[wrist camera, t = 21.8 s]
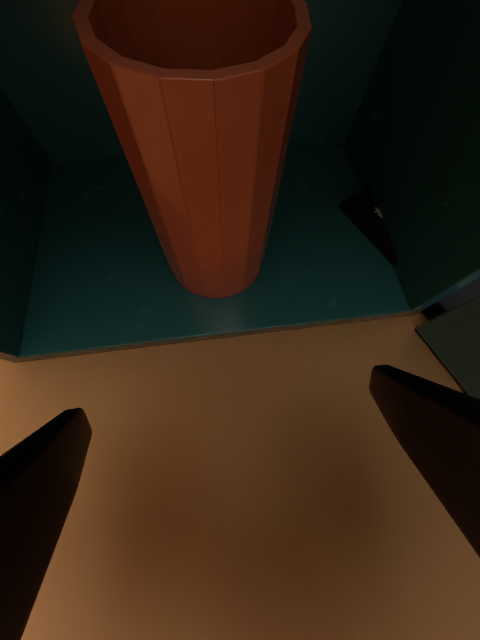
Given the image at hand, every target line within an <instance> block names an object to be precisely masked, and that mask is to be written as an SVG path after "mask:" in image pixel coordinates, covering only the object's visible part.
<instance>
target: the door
mask: <svg viewBox="0 0 480 640" xmlns="http://www.w3.org/2000/svg"><path fill="white" fill-rule="evenodd" d="M416 330H417V331H418V333H419V334H420V335H421V336H422V338H423V339H424V340H425V341H426V343H427V344H428V345H429V346H430V348H431V349H432V350H433V351H434V353H435V354H436V355H437V356H438V358H439V359H440V360H441V361H442V363H443V364H444V365H445V366H446V368H447V369H448V370H449V371H450V373H451V374H452V375H453V376H454V378H455V379H456V380H457V381H458V383H459V384H460V385H461V386H462V388H463V389H464V390H465V391H466V393H467V394H468V395H469V396H472V397H475V398H477V399H480V295H478V296H476V297H474V298H472V299H470V300H468V301H466V302H464V303H462V304H460V305H458V306H456V307H454V308H453V309H451V310H449V311H447V312H445V313H443V314H441V315H439V316H437V317H435V318H433V319H431V320H429V321H427V322H425V323H424V324H422V325H420V326H418V327H416Z"/></svg>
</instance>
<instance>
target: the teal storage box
mask: <svg viewBox="0 0 480 640" xmlns="http://www.w3.org/2000/svg"><path fill="white" fill-rule="evenodd" d="M304 1H305V2H306V3H307V5H308V10H309V15H310V20H311V25H312V30H311V35H310V40H309V45H308V50H307V54H306V59H305V64H304V69H303V74H302V79H301V84H300V89H299V93H298V98H297V103H296V108H295V113H294V118H293V123H292V128H291V133H290V137H289V142H288V147H287V152H286V157H285V162H284V167H283V172H282V176H281V181H280V186H279V191H278V196H277V201H276V206H275V211H274V215H273V220H272V225H271V230H270V235H269V240H268V245H267V250H266V255H265V259H264V262H263V265H262V269H261V271H260V274H259V275H258V277H257V279H256V280H255V281H254V282H253V283H252V284H251V285H250V286H249V287H248V288H247V289H245V290H244V291H242V292H240V293H238V294H236V295H233V296H230V297H225V298H207V297H202V296H199V295H196V294H194V293H192V292H190V291H188V290H187V289H185V288H184V287H183V286H182V285H181V284H180V283H179V282H178V281H177V280H176V278H175V277H174V275H173V273H172V271H171V269H170V266H169V264H168V261H167V258H166V256H165V253H164V251H163V248H162V246H161V243H160V241H159V238H158V236H157V233H156V231H155V228H154V226H153V223H152V221H151V218H150V216H149V213H148V211H147V208H146V206H145V203H144V201H143V198H142V196H141V193H140V191H139V188H138V186H137V183H136V181H135V178H134V176H133V173H132V171H131V168H130V166H129V163H128V161H127V158H126V156H125V153H124V151H123V148H122V146H121V143H120V140H119V138H118V135H117V133H116V130H115V128H114V125H113V123H112V120H111V118H110V115H109V113H108V110H107V108H106V105H105V103H104V100H103V98H102V95H101V93H100V90H99V88H98V85H97V83H96V80H95V78H94V75H93V73H92V70H91V68H90V65H89V63H88V60H87V58H86V55H85V53H84V50H83V48H82V45H81V43H80V40H79V37H78V34H77V31H76V29H75V26H74V23H73V20H72V15H73V13H74V11H75V8H76V6H77V4H78V2H79V0H0V359H4V360H8V361H11V362H23V361H31V360H39V359H48V358H56V357H64V356H73V355H81V354H89V353H98V352H106V351H115V350H123V349H131V348H140V347H148V346H156V345H165V344H173V343H181V342H190V341H198V340H207V339H215V338H223V337H232V336H240V335H248V334H257V333H265V332H273V331H282V330H290V329H299V328H307V327H315V326H324V325H332V324H340V323H349V322H357V321H365V320H374V319H382V318H391V317H399V316H407V315H415V314H417V313H418V312H420V311H422V310H423V309H426V308H427V307H429V306H431V305H432V304H434V303H436V302H438V301H439V300H441V299H443V298H445V297H446V296H448V295H450V294H451V293H453V292H455V291H457V290H458V289H460V288H462V287H463V286H465V285H467V284H469V283H470V282H472V281H474V280H476V279H477V278H479V277H480V0H304ZM368 187H369V188H370V190H371V193H372V195H373V198H374V200H375V202H376V205H377V204H378V206H379V208H380V210H381V213H382V215H383V222H384V224H385V226H386V229H387V231H388V234H389V236H390V238H391V241H392V243H393V246H394V248H395V251H396V254H397V256H398V260H399V261H398V262H397V263H396V264H395V265H394V267H393V266H392V264H391V263H390V262H389V261H388V260H387V259H386V258H385V257H384V256H383V255H382V254H381V253H380V252H379V250H378V249H377V248H376V247H375V246H374V245H373V244H372V243H371V242H370V241H369V240H368V239H367V238H366V236H365V235H364V234H363V233H362V232H361V231H360V230H359V229H358V228H357V227H356V226H355V225H354V224H353V222H352V221H351V220H350V219H349V218H348V217H347V216H346V215H345V214H344V213H343V212H342V211H341V210H340V208H339V206H340V204H341V202H342V200H344V199H345V198H347V197H349V196H351V195H353V194H355V193H358V192H360V191H362V190H364V189H366V188H368Z"/></svg>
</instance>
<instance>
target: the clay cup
mask: <svg viewBox="0 0 480 640" xmlns="http://www.w3.org/2000/svg"><path fill="white" fill-rule="evenodd" d="M72 20H73V23H74V26H75V29H76V31H77V34H78V37H79V40H80V43H81V45H82V48H83V50H84V53H85V55H86V58H87V60H88V63H89V65H90V68H91V70H92V73H93V75H94V78H95V80H96V83H97V85H98V88H99V90H100V93H101V95H102V98H103V100H104V103H105V105H106V108H107V110H108V113H109V115H110V118H111V120H112V123H113V125H114V128H115V130H116V133H117V135H118V138H119V140H120V143H121V146H122V148H123V151H124V153H125V156H126V158H127V161H128V163H129V166H130V168H131V171H132V173H133V176H134V178H135V181H136V183H137V186H138V188H139V191H140V193H141V196H142V198H143V201H144V203H145V206H146V208H147V211H148V213H149V216H150V218H151V221H152V223H153V226H154V228H155V231H156V233H157V236H158V238H159V241H160V243H161V246H162V248H163V251H164V253H165V256H166V258H167V261H168V264H169V266H170V269H171V271H172V273H173V275H174V277H175V278H176V280H177V281H178V282H179V283H180V284H181V285H182V286H183V287H184V288H185V289H187V290H188V291H190V292H192V293H194V294H196V295H199V296H202V297H207V298H225V297H230V296H233V295H236V294H238V293H240V292H242V291H244V290H245V289H247V288H248V287H249V286H250V285H251V284H252V283H253V282H254V281H255V280H256V279H257V277H258V275H259V274H260V271H261V269H262V265H263V262H264V259H265V255H266V250H267V245H268V240H269V235H270V230H271V225H272V220H273V215H274V211H275V206H276V201H277V196H278V191H279V186H280V181H281V176H282V172H283V167H284V162H285V157H286V152H287V147H288V142H289V137H290V133H291V128H292V123H293V118H294V113H295V108H296V103H297V98H298V93H299V89H300V84H301V79H302V74H303V69H304V64H305V59H306V54H307V50H308V45H309V40H310V35H311V30H312V25H311V20H310V15H309V10H308V5H307V3H306V2H305V1H304V0H79V2H78V4H77V6H76V8H75V11H74V13H73V15H72Z"/></svg>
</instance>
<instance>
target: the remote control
mask: <svg viewBox="0 0 480 640" xmlns="http://www.w3.org/2000/svg"><path fill="white" fill-rule="evenodd" d="M339 208H340V210H341V211H342V212H343V213H344V214H345V215H346V216H347V217H348V218H349V219H350V220H351V221H352V222H353V224H354V225H355V226H356V227H357V228H358V229H359V230H360V231H361V232H362V233H363V234H364V235H365V236H366V238H367V239H368V240H369V241H370V242H371V243H372V244H373V245H374V246H375V247H376V248H377V249H378V250H379V252H380V253H381V254H382V255H383V256H384V257H385V258H386V259H387V260H388V261H389V262H390V263H391V264H392V266H393V267H394V265H395V264H396V263H397V262H398V261H399V260H398V256H397V254H396V251H395V248H394V246H393V243H392V241H391V238H390V236H389V234H388V231H387V229H386V226H385V224H384V222H383V215H382V213H381V210H380V208H379V206H378V204H377V205H376V202H375V200H374V198H373V195H372V193H371V190H370V188H369V187H368V188H366V189H364V190H362V191H360V192H358V193H355V194H353V195H351V196H349V197H347V198H345V199H344V200H342V202H341V204H340V206H339ZM478 295H480V277H479V278H477V279H476V280H474V281H472V282H470V283H469V284H467V285H465V286H463V287H462V288H460V289H458V290H457V291H455V292H453V293H451V294H450V295H448V296H446V297H445V298H443V299H441V300H439V301H438V302H436V303H434V304H432V305H431V306H429V307H427V308H426V309H423V310H422V311H423V312H424V313H425V314H426V315H427V316H428V317H429V318H430V319H433V318H435V317H437V316H439V315H441V314H443V313H445V312H447V311H449V310H451V309H453V308H454V307H456V306H458V305H460V304H462V303H464V302H466V301H468V300H470V299H472V298H474V297H476V296H478Z"/></svg>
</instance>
